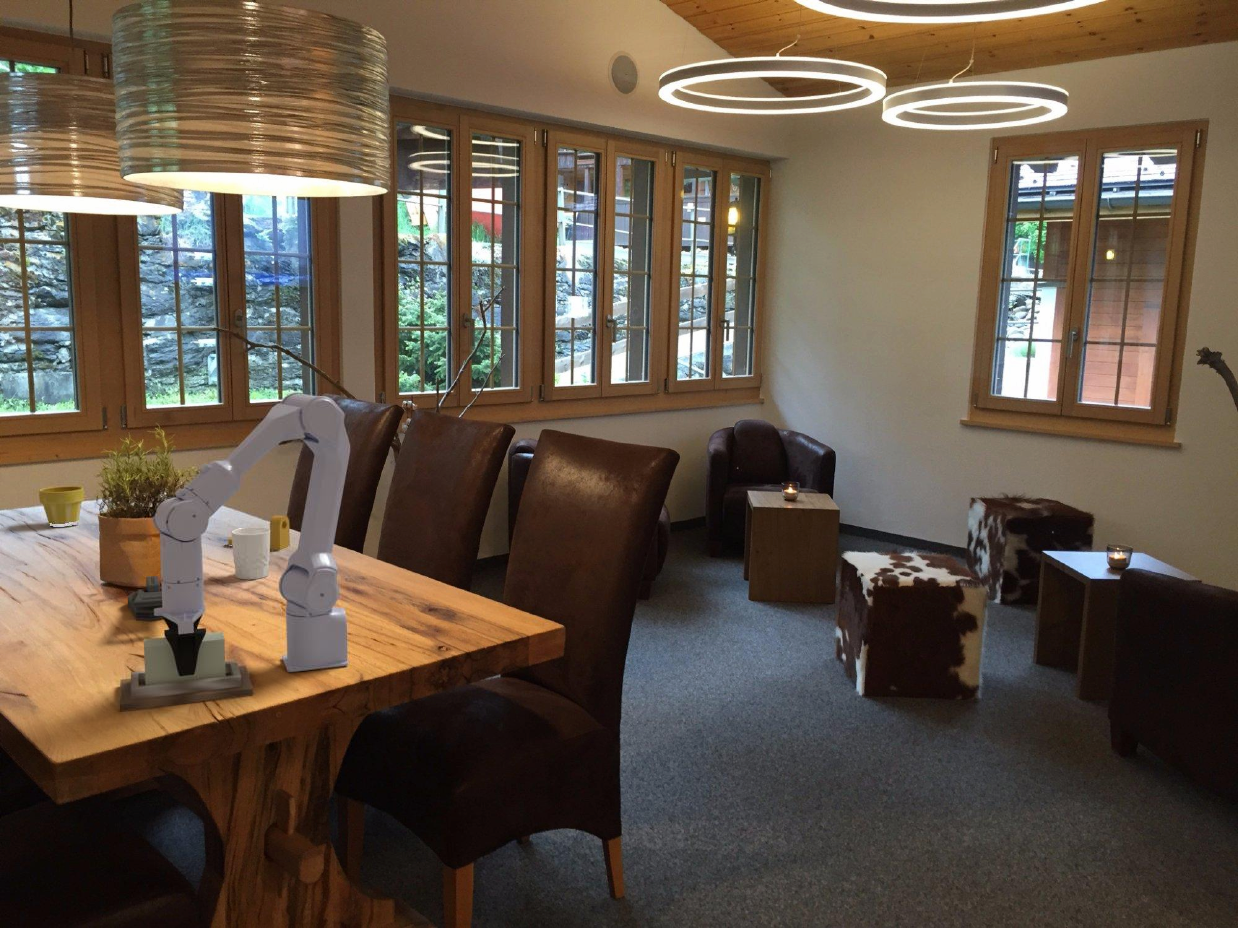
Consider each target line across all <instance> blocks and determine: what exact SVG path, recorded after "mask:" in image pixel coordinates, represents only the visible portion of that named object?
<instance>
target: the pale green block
mask: <svg viewBox="0 0 1238 928" xmlns="http://www.w3.org/2000/svg"><path fill="white" fill-rule="evenodd" d="M225 641H226V640H225V635H224V632H223V631H217V632H216V631H215V632H214V631H213V632H206V634H205V637H204V638H203V640H202V643H201V645H200V649H199V653H198V659H197V665H196V670H195V674H194V675H188V676H179V674H178V671H177V667H176V662H175V658H174V654H173V651H172V648H171V646H170V644H169V642H168V641H167V639H166V638H165V636H164V637H156V638H155V637H154V638H144V639H143V658H144V671H145V683H146V686H148V685H157V684H165V683H174V682H182V681H191V680H199V679H208V678H216V677H225V676H226V672H225V662H226V645H225V644H226V643H225Z"/></svg>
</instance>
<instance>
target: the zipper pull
mask: <svg viewBox="0 0 1238 928" xmlns="http://www.w3.org/2000/svg"><path fill="white" fill-rule="evenodd" d="M145 580H146V581H145V585H146V588H142V589H137V591H135V592H132V593H130V594H129V595H128V596H127V608H128V610H129V611H130V612H131V614H132V616H133V617H134V619H135V620H136V621H137V622H138V621H139V622H140V621H141V622H154V621H155V622H156V621H164V619H163V616H155V615H154V609H155V608H162V607H163V606H162V587H161V584H160V581H159V576H158V575H154V576H146V577H145Z"/></svg>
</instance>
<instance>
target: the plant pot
mask: <svg viewBox="0 0 1238 928" xmlns="http://www.w3.org/2000/svg"><path fill="white" fill-rule="evenodd" d="M38 497H39V503H40V504H42V506H43V509H44V512H45V515H46V519H47V522H48V524H49V523H52V524H65V523H69V522H76V521H78V520H80V514H81V508H82V502H83V501H84V500H85V490H84V487H83V486H80V485H79V486H78V485H61V486H60V485H59V486H50V487H44V488H41V489H39V490H38Z"/></svg>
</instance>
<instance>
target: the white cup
mask: <svg viewBox="0 0 1238 928" xmlns="http://www.w3.org/2000/svg"><path fill="white" fill-rule="evenodd" d="M231 537H232V546H233V547H232V555H233V564H234V575H235V578H236V579H240V580H249V581H250V580H258V579H264V578H266V577H268V576H269V570H270V569H269V564H270V554H271V550H270V528H267V527H261V526H258V527H256V526H255V527H253V526H252V527H243V528H242V527H241V528H236V529H233V530H232V531H231Z"/></svg>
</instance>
